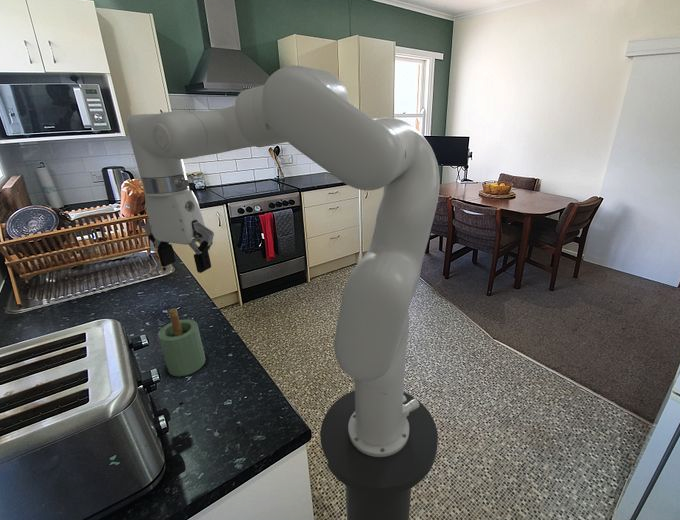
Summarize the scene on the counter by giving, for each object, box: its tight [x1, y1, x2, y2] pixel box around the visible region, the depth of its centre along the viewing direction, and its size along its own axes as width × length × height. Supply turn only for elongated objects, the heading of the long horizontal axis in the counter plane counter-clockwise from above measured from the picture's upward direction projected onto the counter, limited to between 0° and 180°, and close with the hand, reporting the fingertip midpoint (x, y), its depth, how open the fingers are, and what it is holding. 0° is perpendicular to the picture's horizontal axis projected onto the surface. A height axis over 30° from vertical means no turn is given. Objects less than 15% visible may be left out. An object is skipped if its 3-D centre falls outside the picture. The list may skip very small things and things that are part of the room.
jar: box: [157, 318, 206, 377], centre depth 88 cm, size 9×9×11 cm
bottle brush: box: [168, 308, 183, 336], centre depth 87 cm, size 3×3×16 cm
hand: (186, 267), depth 72 cm, fingers open, 9 cm apart
